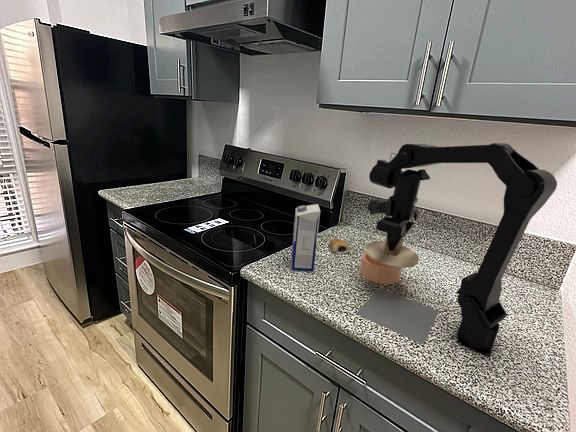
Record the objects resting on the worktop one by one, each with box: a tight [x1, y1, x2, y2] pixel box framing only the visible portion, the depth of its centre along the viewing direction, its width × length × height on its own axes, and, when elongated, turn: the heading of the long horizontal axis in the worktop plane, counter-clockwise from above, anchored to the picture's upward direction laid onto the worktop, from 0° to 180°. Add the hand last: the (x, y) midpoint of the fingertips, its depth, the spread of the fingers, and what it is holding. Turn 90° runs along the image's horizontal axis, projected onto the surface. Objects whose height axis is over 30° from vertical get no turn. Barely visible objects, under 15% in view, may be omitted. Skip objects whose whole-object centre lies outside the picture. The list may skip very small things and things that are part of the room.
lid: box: [365, 236, 420, 269], centre depth 84 cm, size 14×14×6 cm
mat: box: [355, 287, 440, 345], centre depth 78 cm, size 16×16×1 cm
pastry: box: [329, 238, 351, 255], centre depth 113 cm, size 9×7×4 cm
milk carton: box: [290, 203, 321, 273], centre depth 95 cm, size 7×7×20 cm
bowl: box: [359, 251, 403, 286], centre depth 96 cm, size 12×12×6 cm
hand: (392, 248), depth 85 cm, fingers closed on lid, 3 cm apart
